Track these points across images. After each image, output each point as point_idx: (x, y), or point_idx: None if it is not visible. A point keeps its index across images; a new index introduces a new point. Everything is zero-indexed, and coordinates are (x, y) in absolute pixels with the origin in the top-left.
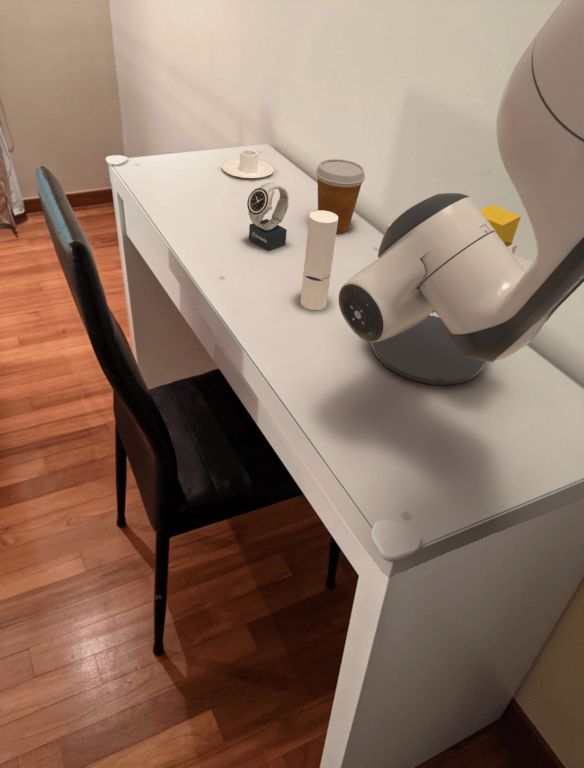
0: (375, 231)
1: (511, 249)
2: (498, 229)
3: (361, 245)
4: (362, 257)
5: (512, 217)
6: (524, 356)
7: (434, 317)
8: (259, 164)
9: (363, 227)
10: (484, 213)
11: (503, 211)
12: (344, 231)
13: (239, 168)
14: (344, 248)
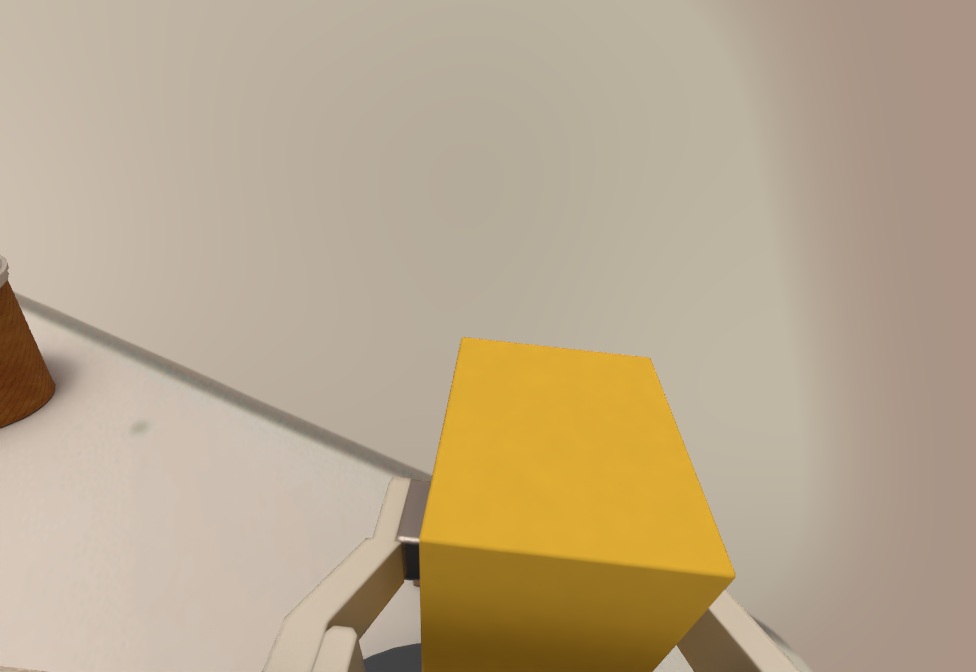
0: (137, 368)
1: (731, 599)
2: (687, 595)
3: (93, 434)
4: (95, 482)
5: (645, 399)
6: None
7: (372, 664)
8: None
9: (102, 369)
10: (492, 466)
11: (557, 364)
12: (36, 408)
13: None
14: (30, 474)
